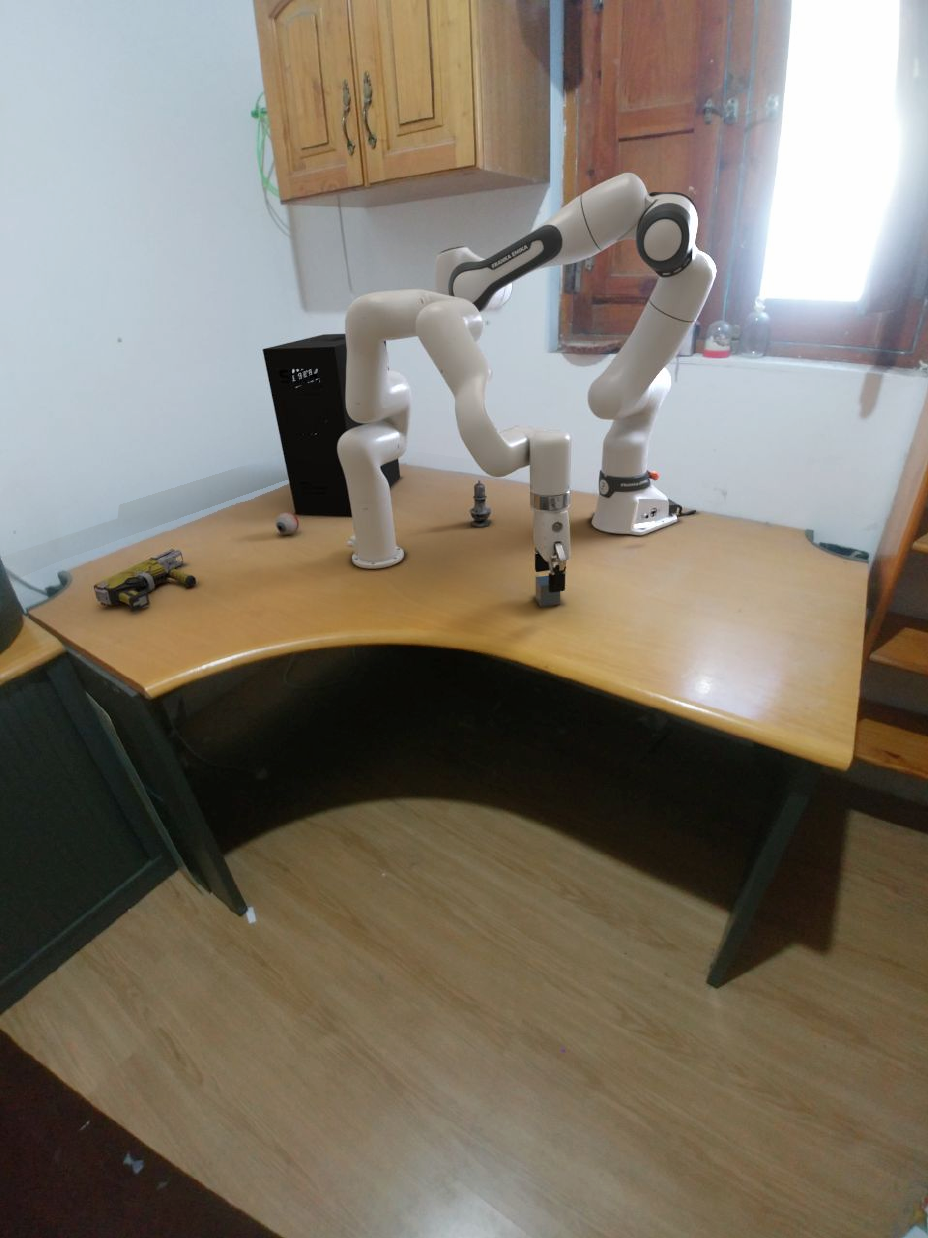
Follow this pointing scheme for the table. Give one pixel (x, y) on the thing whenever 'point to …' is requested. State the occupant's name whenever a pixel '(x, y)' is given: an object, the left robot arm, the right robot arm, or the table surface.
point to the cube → (545, 592)
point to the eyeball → (287, 523)
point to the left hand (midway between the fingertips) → (549, 580)
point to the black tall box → (314, 421)
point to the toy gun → (141, 581)
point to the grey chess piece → (480, 507)
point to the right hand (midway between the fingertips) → (459, 386)
